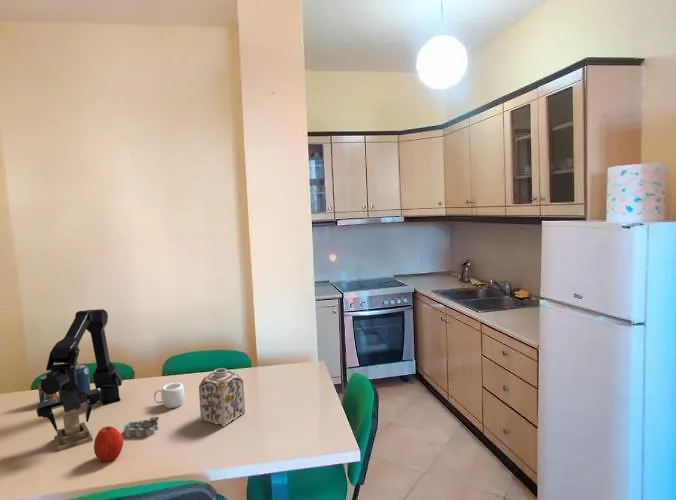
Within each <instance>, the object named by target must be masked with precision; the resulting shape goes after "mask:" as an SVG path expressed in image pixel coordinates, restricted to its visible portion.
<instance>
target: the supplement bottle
mask: <svg viewBox="0 0 676 500" xmlns="http://www.w3.org/2000/svg"><path fill="white" fill-rule="evenodd" d="M46 377H47V376H46V375H44V376H41V377H40V378H39V379H40V382H39V383H38V384H37V387H38V396H39V397H38V398H39V403H41V402H45V401H50V403H55V402H58V392H57V393H55V394H52V395H50V394H46V393H44V392H43V391H42V389H41V383H42V381H43V380H44V379H45V378H46Z"/></svg>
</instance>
